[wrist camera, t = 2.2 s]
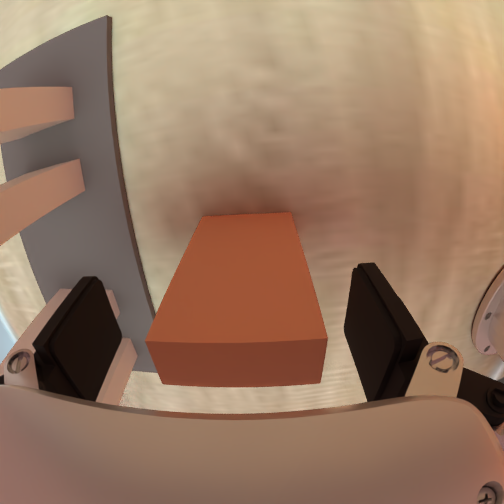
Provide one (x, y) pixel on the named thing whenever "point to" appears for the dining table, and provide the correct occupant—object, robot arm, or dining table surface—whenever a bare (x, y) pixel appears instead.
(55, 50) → the mat
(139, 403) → the dining table surface
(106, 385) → the domino
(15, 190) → the domino
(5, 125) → the domino
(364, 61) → the dining table surface
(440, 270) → the dining table surface
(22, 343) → the domino
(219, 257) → the domino
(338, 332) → the dining table surface
